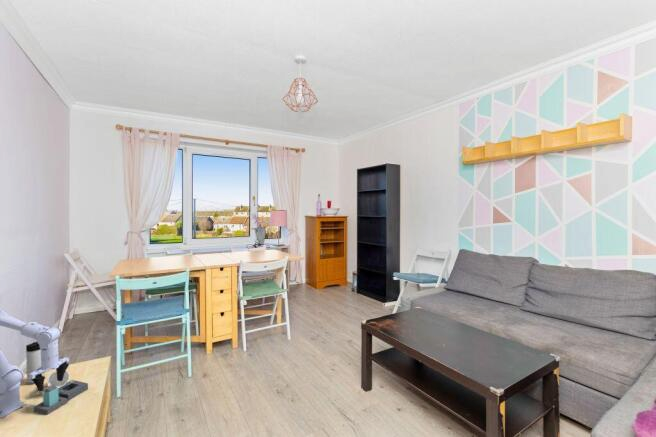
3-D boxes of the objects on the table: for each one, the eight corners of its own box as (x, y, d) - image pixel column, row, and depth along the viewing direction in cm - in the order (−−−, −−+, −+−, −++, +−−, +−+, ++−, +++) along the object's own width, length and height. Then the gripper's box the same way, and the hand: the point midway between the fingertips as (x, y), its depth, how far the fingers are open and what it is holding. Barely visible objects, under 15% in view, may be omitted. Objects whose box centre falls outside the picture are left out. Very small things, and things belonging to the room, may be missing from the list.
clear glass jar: (43, 381, 148) (42, 383, 141) (59, 365, 153) (58, 366, 146) (58, 389, 151) (58, 391, 143) (73, 374, 156) (73, 375, 148)
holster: (47, 414, 131) (47, 410, 131) (34, 411, 133) (33, 406, 133) (67, 402, 139) (67, 398, 138) (54, 399, 140) (54, 395, 140)
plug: (49, 410, 133) (49, 390, 133) (43, 408, 134) (42, 389, 134) (58, 405, 137) (58, 385, 136) (52, 403, 138) (52, 384, 137)
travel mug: (34, 385, 150) (33, 346, 149) (23, 383, 152) (22, 344, 150) (48, 378, 156) (47, 340, 155) (38, 376, 158) (36, 339, 156)
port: (68, 400, 140) (68, 394, 140) (51, 396, 142) (51, 390, 142) (87, 389, 148) (87, 382, 148) (72, 385, 151) (72, 379, 151)
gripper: (37, 365, 126) (38, 397, 127) (73, 349, 140) (74, 377, 141) (24, 363, 128) (25, 394, 129) (62, 347, 142) (63, 375, 143)
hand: (50, 385), depth 135 cm, fingers open, 7 cm apart
